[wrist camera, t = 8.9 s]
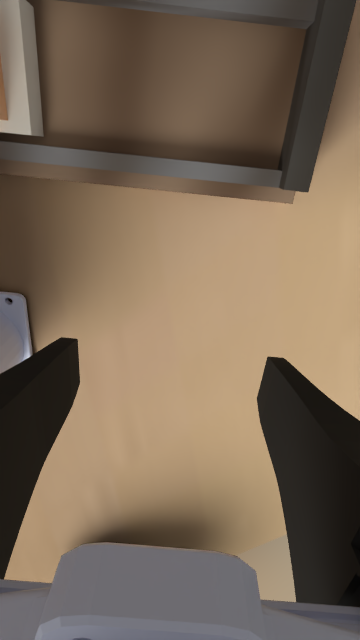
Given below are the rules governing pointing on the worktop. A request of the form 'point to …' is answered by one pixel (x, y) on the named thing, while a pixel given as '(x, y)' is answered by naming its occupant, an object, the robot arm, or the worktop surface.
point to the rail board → (183, 94)
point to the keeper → (19, 70)
